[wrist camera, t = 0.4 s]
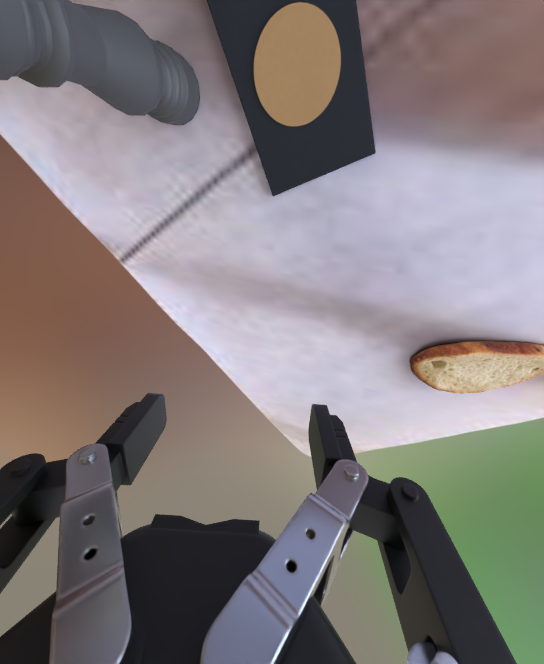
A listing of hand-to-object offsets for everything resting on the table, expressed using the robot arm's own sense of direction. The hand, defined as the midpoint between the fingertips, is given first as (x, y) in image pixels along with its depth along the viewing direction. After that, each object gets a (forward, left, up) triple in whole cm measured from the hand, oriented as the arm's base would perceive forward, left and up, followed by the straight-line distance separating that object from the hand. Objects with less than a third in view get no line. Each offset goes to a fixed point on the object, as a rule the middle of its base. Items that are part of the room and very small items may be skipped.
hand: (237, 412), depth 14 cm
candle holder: (-21, -6, -30) cm, 37 cm away
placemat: (-17, +8, -30) cm, 35 cm away
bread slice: (+30, +26, -30) cm, 50 cm away
